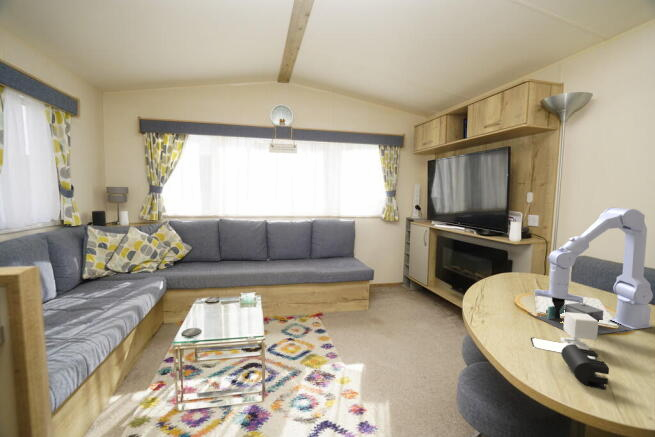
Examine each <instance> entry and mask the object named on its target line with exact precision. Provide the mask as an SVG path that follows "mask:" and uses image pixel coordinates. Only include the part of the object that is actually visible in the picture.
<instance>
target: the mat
mask: <svg viewBox="0 0 655 437" xmlns="http://www.w3.org/2000/svg"><path fill="white" fill-rule="evenodd" d="M530 313H531V312H527V314H528V315H530V316H532V317H535V319H537V320H541V321H543V322H545V323H547V324H549V325H551V326H553V327H555V328H557V329H559V330H562V331H564V329H563V326H564V324H563V323H560V322H562V321H563V322H564V319H561V318H560V319H559V318H550V319H548V318H547V316H541V317H540V316H534V315H532V314H530ZM619 325H620V324H619ZM625 330H630V331H632V329H631V328H628V327H626V326H623V325H620V326H619V327H618V328H617V329H610V328H607V327H602V326H598V332H597V336H600V335H607V334H613V333H612V332H616V333H620V332H619V331H623V332H626V331H625ZM564 332H565V331H564Z"/></svg>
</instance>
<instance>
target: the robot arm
mask: <svg viewBox="0 0 655 437" xmlns="http://www.w3.org/2000/svg"><path fill="white" fill-rule="evenodd" d="M645 216H646V215H645V214H644V213H642V211H640V210H638V209H636V208H619V207H612V206H611V207H608V208H606V209H605V210H604V211H603V212H601V213H600V214H599V217H598V218H597V220H595V222H593V223H592V224H591V225H590V226H588V228H587V229H586V230H585V231H583V233H582V234H581V235H579V236H572V237H569V238H568V241H567V242H566V243H564V244H563V245H561V246H560V247H558V249H556V250H552V251H551V252H550V253H549V255H548V256H547V261H548V263H549V268H550V273H549V286H548V287H549V288H548V290H542V289H541V290H540V289H534V296H535V297H542V298H543V297H544V298H550V299H551V301H552V304H553V306H555V318H559V319H560V309H561V308H562V306H563V305H564V304H565V303H566V301H568V302H573V303H582V304H583V303H584V297H583V296H579V295H574V294H572V293H571V294H570V293H569V286H570V271H571V270H570V269H571V267H573V266H574V265H575V263H576V259H577V258H578V257H580V255H582V254H583V253H584V252H586V251H587V250H588V249H589V248H590V243H591V242H592V241H594V240H595V239H596V238H597V237H599V236H600V235H602V234H604V233H605V232H606V231H608V230H609V229H611V230H612V229H619V230H621V231H622V232H623V233H624V244H623V245H624V247H623V248H624V249H623V261H622V262H623V263H622V274H620V275H618V276H616V281H615V282H614V285H613V287H612V288H613V292H614V294H616V298H617V302H616V304H617V305H616V311H615V317H614V318H612V319H613V320H614V321H615V322H617V323H616V324H618V323H619V324H618V325H620V324H621V326H623V327H626V328H629V329H631V330H639V329H645V328H652V327H653V326H652V324H650V319H651V311H652V310H651V305H649V303H651V301H652V300H653V296H654V294H653V291H652V289H651V286H652V284H650V282H649V281H648V280H647V279H646V278H645V277H644V273H645V262H646V249H647V248H646V247H647V236H648V228H647V225H646V223H645V218H646V217H645ZM615 322H614V323H615Z"/></svg>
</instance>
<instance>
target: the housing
mask: <svg viewBox="0 0 655 437" xmlns="http://www.w3.org/2000/svg"><path fill="white" fill-rule="evenodd" d="M565 312H569V313H582V314H588V315H589V316H591V317H593V318H594V319H596V320H597V321H598V322H599V320H603V319H604V310H603V309H601V308H597V307H595V306H593V305H590V304H587V303H585V302H583V304H582V303H579V302H573V303H567V304H565Z"/></svg>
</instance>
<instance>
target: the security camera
mask: <svg viewBox="0 0 655 437" xmlns="http://www.w3.org/2000/svg"><path fill="white" fill-rule="evenodd" d="M563 329H564V332H565V333H566V334H568V335H569V336H570V337H567V336H565V337H563V336H560V343H563V344H564V345H566V346H567V345H571V344H575V345H576V346H577V347H578V348H579V349H586V350H589V349H590V346H588V345H587V344H586V343H585V342H584V341H582V340H581V339H584V340H585V339H586V340H593V341H596V340H598V335H597V332H598V321H597V320H596V319H594V318H593V317H591V316H589V315H588V314H582V313H569V312H565V316H564V326H563Z"/></svg>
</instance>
